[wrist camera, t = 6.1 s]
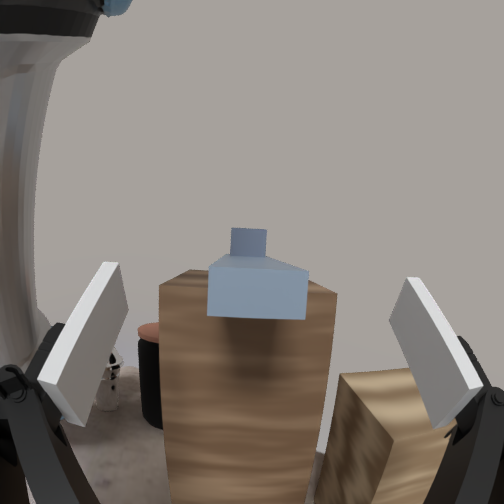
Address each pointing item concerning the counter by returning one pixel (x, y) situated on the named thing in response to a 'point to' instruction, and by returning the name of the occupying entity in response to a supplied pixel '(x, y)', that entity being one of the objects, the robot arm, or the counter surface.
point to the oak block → (380, 442)
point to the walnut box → (241, 396)
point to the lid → (255, 282)
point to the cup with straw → (109, 383)
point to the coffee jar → (150, 373)
